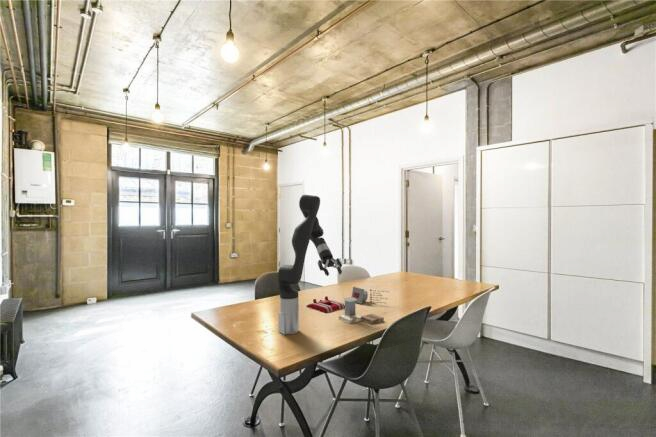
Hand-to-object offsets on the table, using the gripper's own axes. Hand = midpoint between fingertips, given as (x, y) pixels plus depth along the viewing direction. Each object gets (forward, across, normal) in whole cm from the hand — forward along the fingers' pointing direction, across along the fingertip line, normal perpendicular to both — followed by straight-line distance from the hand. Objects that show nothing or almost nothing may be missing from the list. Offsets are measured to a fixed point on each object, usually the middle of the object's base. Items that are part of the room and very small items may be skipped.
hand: (334, 274), depth 187 cm
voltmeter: (+9, +34, +26) cm, 44 cm away
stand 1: (+25, +3, +9) cm, 27 cm away
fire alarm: (+4, +4, +32) cm, 32 cm away
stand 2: (+30, +13, +4) cm, 33 cm away
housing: (+23, +3, +8) cm, 25 cm away
